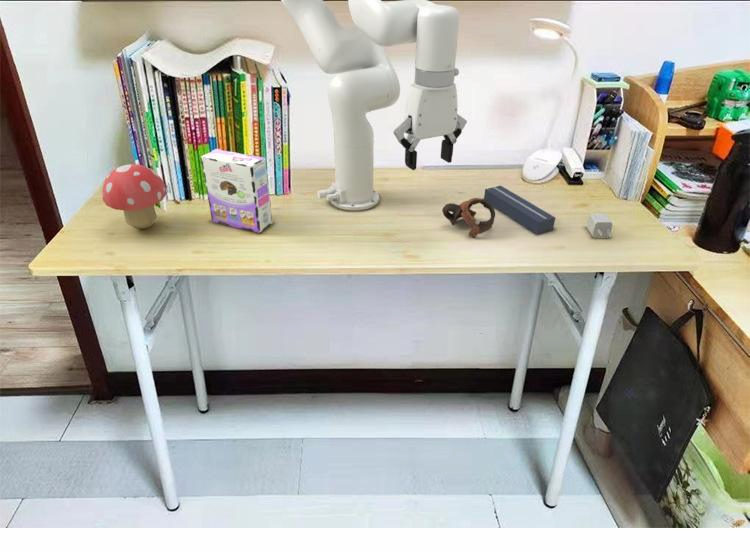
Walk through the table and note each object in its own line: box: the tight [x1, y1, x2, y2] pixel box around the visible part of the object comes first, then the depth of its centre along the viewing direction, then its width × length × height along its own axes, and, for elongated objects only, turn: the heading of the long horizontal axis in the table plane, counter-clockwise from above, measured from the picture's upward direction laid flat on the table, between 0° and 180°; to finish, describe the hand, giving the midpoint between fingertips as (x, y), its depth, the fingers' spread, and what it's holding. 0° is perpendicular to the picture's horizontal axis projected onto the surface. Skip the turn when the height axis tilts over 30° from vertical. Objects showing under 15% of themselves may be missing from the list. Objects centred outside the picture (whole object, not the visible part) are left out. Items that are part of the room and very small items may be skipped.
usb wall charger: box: [586, 212, 614, 239], centre depth 127 cm, size 4×7×4 cm, turn 179°
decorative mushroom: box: [101, 163, 168, 230], centre depth 125 cm, size 13×13×15 cm
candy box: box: [200, 148, 273, 234], centre depth 127 cm, size 14×6×16 cm, turn 65°
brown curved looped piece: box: [441, 197, 496, 238], centre depth 129 cm, size 12×10×8 cm
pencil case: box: [483, 185, 556, 235], centre depth 136 cm, size 5×20×3 cm, turn 28°
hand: (428, 163), depth 116 cm, fingers open, 8 cm apart
